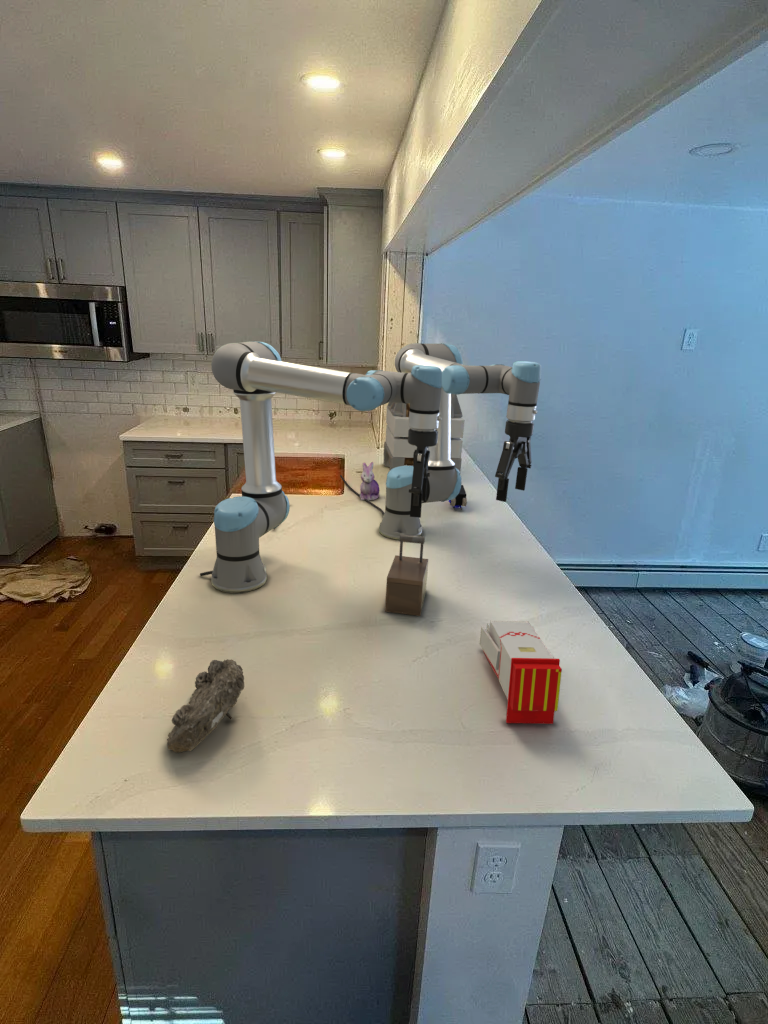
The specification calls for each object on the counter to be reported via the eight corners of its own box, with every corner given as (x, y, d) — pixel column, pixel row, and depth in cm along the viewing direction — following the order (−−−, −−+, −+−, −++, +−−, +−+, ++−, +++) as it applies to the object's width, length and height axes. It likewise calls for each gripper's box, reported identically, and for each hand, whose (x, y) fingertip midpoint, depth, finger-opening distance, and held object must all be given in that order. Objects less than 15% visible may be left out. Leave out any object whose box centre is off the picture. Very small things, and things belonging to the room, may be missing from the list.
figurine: (364, 502, 230) (365, 466, 225) (353, 495, 238) (354, 460, 233) (384, 500, 234) (386, 464, 229) (373, 492, 242) (375, 458, 237)
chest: (393, 587, 161) (394, 560, 158) (425, 591, 160) (428, 563, 157) (385, 611, 148) (386, 582, 145) (420, 616, 147) (422, 586, 144)
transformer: (382, 463, 289) (386, 382, 275) (445, 464, 293) (451, 384, 279) (390, 482, 257) (394, 392, 243) (460, 483, 261) (468, 394, 247)
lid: (395, 559, 159) (396, 530, 156) (428, 563, 157) (430, 533, 154) (386, 581, 145) (388, 550, 142) (422, 586, 144) (424, 554, 141)
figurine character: (467, 515, 225) (461, 499, 238) (469, 498, 221) (463, 482, 235) (450, 514, 224) (445, 498, 238) (452, 497, 221) (447, 482, 234)
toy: (526, 605, 135) (570, 665, 105) (521, 658, 137) (563, 730, 108) (475, 604, 134) (506, 664, 105) (472, 657, 137) (500, 729, 108)
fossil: (192, 660, 117) (244, 628, 112) (224, 691, 120) (276, 661, 115) (142, 746, 98) (202, 712, 93) (182, 779, 101) (242, 748, 96)
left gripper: (434, 440, 131) (428, 525, 138) (441, 421, 154) (435, 495, 161) (402, 437, 132) (397, 523, 139) (414, 419, 155) (409, 492, 162)
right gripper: (515, 429, 142) (505, 509, 149) (549, 416, 161) (539, 487, 169) (488, 424, 146) (479, 502, 153) (524, 413, 165) (515, 482, 173)
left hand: (418, 508), depth 150 cm, fingers open, 13 cm apart
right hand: (510, 495), depth 161 cm, fingers open, 13 cm apart
